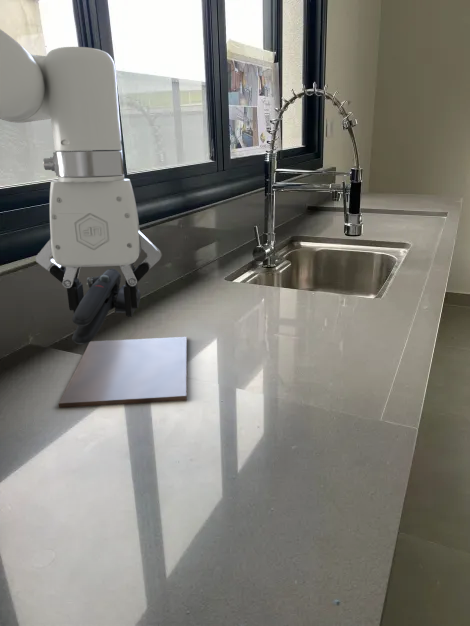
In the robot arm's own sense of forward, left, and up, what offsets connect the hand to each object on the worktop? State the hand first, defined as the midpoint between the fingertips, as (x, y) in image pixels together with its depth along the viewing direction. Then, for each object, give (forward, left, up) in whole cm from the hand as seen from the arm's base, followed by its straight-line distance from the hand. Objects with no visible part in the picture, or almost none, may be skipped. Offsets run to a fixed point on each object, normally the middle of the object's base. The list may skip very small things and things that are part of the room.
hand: (105, 313), depth 63 cm
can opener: (0, 0, -1) cm, 1 cm away
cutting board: (+1, +15, -15) cm, 21 cm away
